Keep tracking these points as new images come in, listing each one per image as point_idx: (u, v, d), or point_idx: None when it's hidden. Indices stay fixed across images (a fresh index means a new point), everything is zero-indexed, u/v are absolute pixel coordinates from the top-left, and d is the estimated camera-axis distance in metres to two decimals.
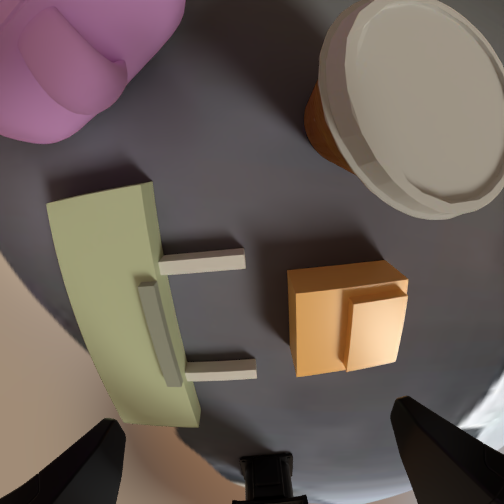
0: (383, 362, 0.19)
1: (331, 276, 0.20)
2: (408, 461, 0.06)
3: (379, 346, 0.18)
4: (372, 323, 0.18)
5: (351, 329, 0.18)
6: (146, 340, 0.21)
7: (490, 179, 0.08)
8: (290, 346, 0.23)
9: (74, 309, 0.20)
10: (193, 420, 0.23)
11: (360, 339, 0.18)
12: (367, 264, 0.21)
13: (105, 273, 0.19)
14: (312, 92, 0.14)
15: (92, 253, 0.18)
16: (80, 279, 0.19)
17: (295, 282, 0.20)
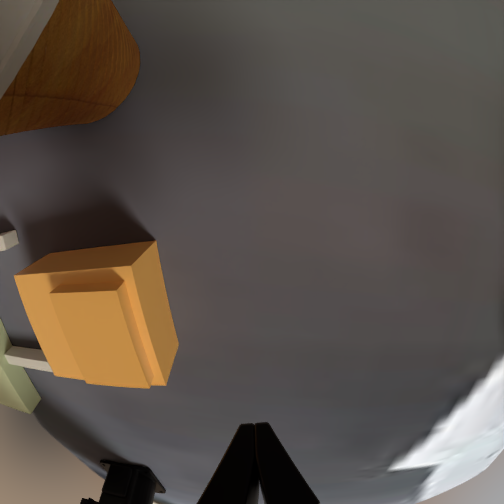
0: (129, 385, 0.13)
1: (65, 259, 0.14)
2: None
3: (109, 360, 0.12)
4: (81, 324, 0.12)
5: (62, 327, 0.12)
6: None
7: None
8: None
9: None
10: (23, 405, 0.18)
11: (78, 343, 0.12)
12: (123, 246, 0.15)
13: None
14: None
15: None
16: None
17: (32, 264, 0.14)
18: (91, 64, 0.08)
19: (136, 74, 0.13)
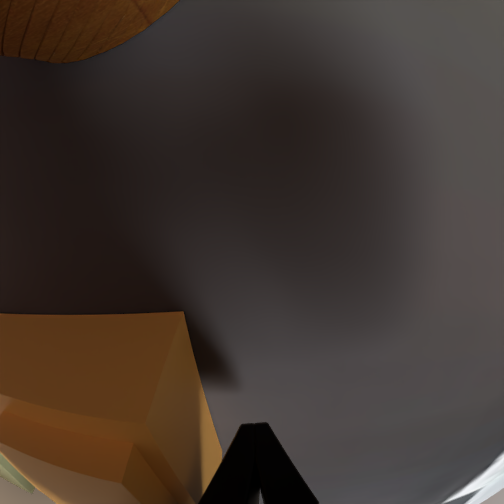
0: None
1: (13, 345, 0.06)
2: None
3: None
4: (61, 491, 0.04)
5: (29, 477, 0.04)
6: None
7: None
8: None
9: None
10: (21, 485, 0.10)
11: (63, 501, 0.04)
12: (118, 324, 0.07)
13: None
14: None
15: None
16: None
17: None
18: None
19: None
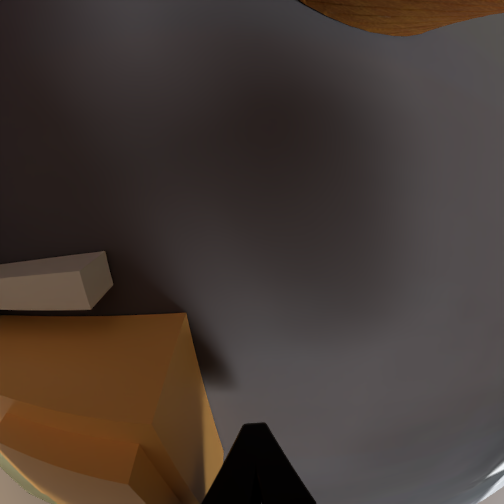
0: None
1: (16, 347, 0.06)
2: None
3: None
4: (65, 492, 0.04)
5: (32, 479, 0.04)
6: None
7: None
8: None
9: None
10: None
11: (66, 503, 0.04)
12: (121, 325, 0.07)
13: None
14: None
15: None
16: None
17: None
18: None
19: None
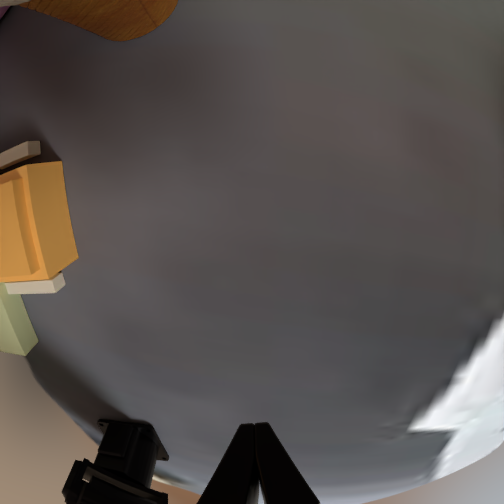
0: (19, 273, 0.13)
1: None
2: None
3: (7, 247, 0.13)
4: None
5: None
6: None
7: None
8: None
9: None
10: (18, 345, 0.18)
11: None
12: None
13: None
14: None
15: None
16: None
17: None
18: None
19: (175, 4, 0.13)
